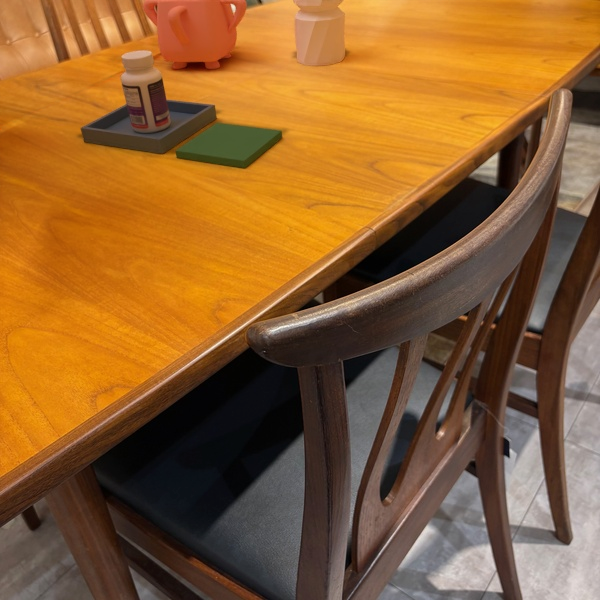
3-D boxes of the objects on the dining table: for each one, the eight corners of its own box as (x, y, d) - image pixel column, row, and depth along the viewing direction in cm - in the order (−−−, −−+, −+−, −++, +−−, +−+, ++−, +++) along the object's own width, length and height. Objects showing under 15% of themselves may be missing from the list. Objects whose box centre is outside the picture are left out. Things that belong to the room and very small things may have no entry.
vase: (298, 67, 106) (294, -9, 98) (294, 54, 113) (290, -19, 105) (349, 63, 106) (348, -14, 99) (341, 50, 113) (340, -23, 106)
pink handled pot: (182, 80, 104) (168, -5, 96) (145, 61, 114) (129, -17, 107) (265, 59, 111) (258, -21, 103) (223, 44, 122) (214, -31, 114)
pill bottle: (168, 117, 88) (154, 46, 82) (174, 130, 84) (160, 56, 78) (130, 123, 87) (114, 52, 81) (134, 136, 83) (117, 62, 77)
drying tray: (84, 142, 84) (80, 127, 82) (143, 109, 93) (140, 96, 92) (162, 154, 79) (159, 139, 77) (217, 118, 88) (215, 104, 87)
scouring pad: (176, 157, 77) (175, 150, 77) (218, 129, 84) (217, 122, 84) (245, 168, 74) (244, 160, 73) (282, 137, 81) (281, 130, 80)
